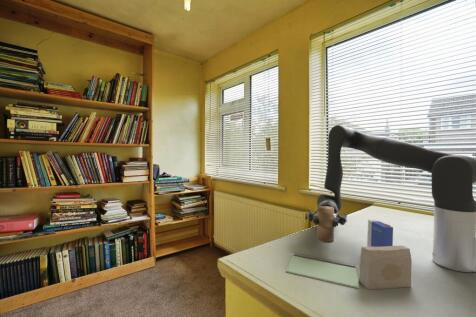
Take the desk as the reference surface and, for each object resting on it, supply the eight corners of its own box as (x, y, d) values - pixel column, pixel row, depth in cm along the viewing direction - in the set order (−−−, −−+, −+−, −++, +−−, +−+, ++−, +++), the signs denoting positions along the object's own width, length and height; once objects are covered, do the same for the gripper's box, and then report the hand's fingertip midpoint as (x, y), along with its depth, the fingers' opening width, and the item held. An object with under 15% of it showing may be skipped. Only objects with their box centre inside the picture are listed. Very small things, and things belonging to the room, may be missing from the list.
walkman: (392, 265, 67) (393, 226, 67) (383, 266, 67) (384, 226, 67) (374, 253, 75) (375, 218, 75) (366, 254, 75) (367, 218, 74)
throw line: (355, 265, 67) (355, 264, 67) (355, 267, 66) (355, 266, 66) (294, 253, 74) (294, 252, 74) (293, 255, 73) (293, 254, 73)
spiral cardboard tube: (333, 238, 77) (334, 206, 77) (333, 244, 73) (333, 210, 72) (317, 236, 79) (318, 205, 79) (316, 241, 75) (317, 208, 75)
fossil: (399, 279, 60) (400, 244, 60) (411, 287, 56) (412, 249, 56) (358, 282, 58) (359, 245, 58) (367, 290, 55) (368, 251, 55)
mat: (356, 269, 64) (356, 268, 64) (358, 288, 55) (358, 287, 55) (292, 257, 72) (292, 255, 72) (286, 272, 63) (286, 270, 63)
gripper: (308, 200, 92) (302, 209, 76) (347, 203, 86) (349, 214, 70) (308, 218, 92) (302, 231, 76) (347, 222, 86) (349, 237, 71)
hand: (325, 223), depth 74 cm, fingers closed on spiral cardboard tube, 5 cm apart
